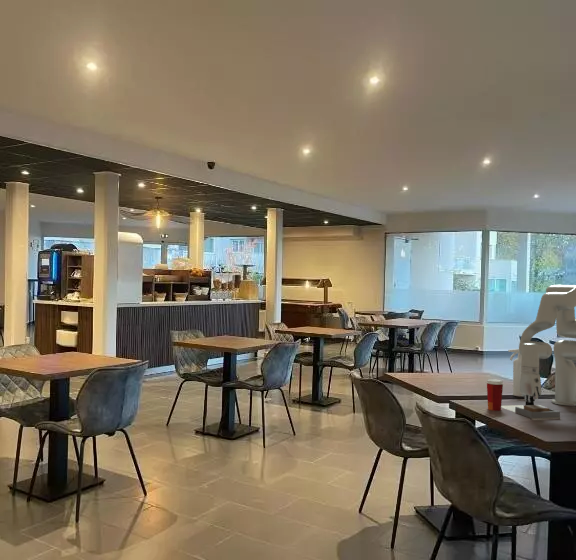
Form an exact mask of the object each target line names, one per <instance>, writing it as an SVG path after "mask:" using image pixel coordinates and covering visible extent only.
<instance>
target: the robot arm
mask: <svg viewBox="0 0 576 560" xmlns="http://www.w3.org/2000/svg"><path fill="white" fill-rule="evenodd" d="M575 308H576V285H575V284H570V285H569V284H553V285H549V286H547V287H546V290H545V292H544V293H543V294H542V296H541V299H540V301H539V306H538V310H537V313H536V318H535V320H534V321H533V322H531V323H530V324H529V325H528V326H527V327H526V328H525V329H524V330H523V332H522V334H521V337H520V339H519V343H518V349H519V352H520V354H521V355H522V357H521V378H520V392H521V393H522V396H521V397H523V398H524V401H525V403H524V406H525V405H535V403H536V402H535V401H536V400H539V397H540V396H542V382H541V381H542V379H541V375H540V360H541V359H543V360H544V359H545V360H546V359H548V358H550V357H551V356H552V354H554V361H555V363H554V365H555V369H554V370H555V371H554V373H555V374H554V375H555V376H554V377H555V378H554V379H555V381H554V383H555V384H554V385H555V386H554V387H555V388H554V398H553V399H551V403H552V404H556V405H559V406H568V407H571V406H572V407H575V406H576V365H575V363H574V362H573V361H576V340H570V339H576V313H575V312H576V311H575ZM554 326H556V333H557V336H558V337H562V338H568V339H562V340H561V339H560V340H557V341H555V342H554V344H553V347H552V345H550V344H549V343H547V342H545V341H544V342H542V341H533V340H532V338H533V337H534V336H535V335H536V334H539V333H541V332H543V331H545V330H549V329H551V328H553V327H554ZM531 340H532V341H531Z"/></svg>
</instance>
